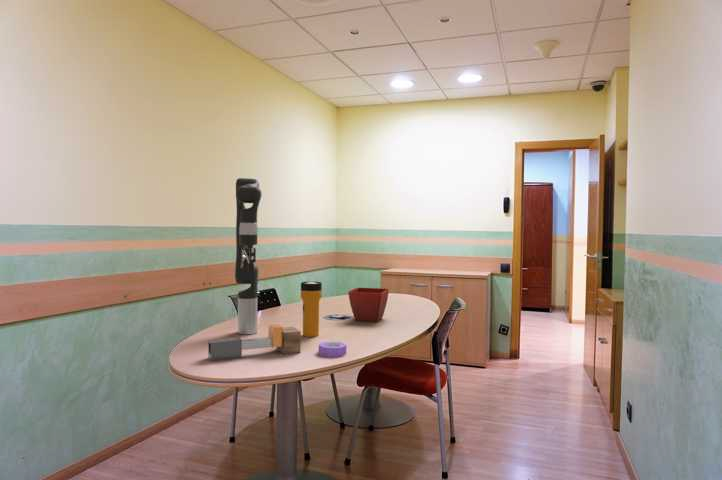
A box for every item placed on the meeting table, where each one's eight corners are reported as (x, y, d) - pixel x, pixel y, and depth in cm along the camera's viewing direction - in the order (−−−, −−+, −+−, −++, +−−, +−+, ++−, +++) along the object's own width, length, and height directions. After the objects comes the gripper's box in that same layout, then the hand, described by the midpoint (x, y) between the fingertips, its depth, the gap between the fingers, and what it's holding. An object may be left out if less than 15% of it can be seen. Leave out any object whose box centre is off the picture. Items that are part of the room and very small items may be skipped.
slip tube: (232, 347, 203) (232, 327, 202) (286, 342, 213) (286, 323, 213) (236, 351, 197) (236, 331, 197) (291, 345, 208) (291, 326, 207)
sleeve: (208, 357, 198) (208, 340, 197) (238, 354, 203) (238, 337, 203) (210, 361, 193) (211, 342, 193) (241, 357, 199) (241, 339, 198)
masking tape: (346, 350, 214) (346, 341, 214) (346, 357, 202) (346, 347, 202) (319, 349, 214) (319, 341, 214) (317, 357, 202) (317, 347, 202)
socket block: (276, 348, 213) (276, 328, 213) (292, 347, 217) (292, 326, 216) (284, 354, 204) (284, 332, 204) (300, 352, 208) (300, 331, 207)
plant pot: (347, 321, 276) (347, 291, 275) (357, 315, 294) (357, 287, 294) (380, 323, 270) (381, 293, 270) (388, 317, 289) (389, 288, 288)
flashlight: (324, 282, 236) (303, 283, 233) (323, 336, 237) (303, 338, 234) (318, 280, 246) (298, 281, 242) (317, 332, 246) (298, 333, 243)
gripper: (235, 233, 216) (235, 270, 217) (244, 233, 204) (243, 273, 204) (252, 233, 220) (252, 269, 220) (261, 234, 207) (261, 272, 208)
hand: (248, 271), depth 212 cm, fingers open, 8 cm apart
